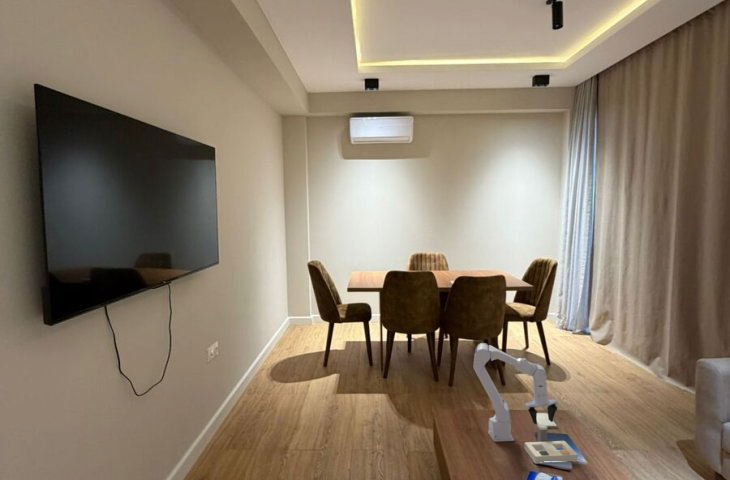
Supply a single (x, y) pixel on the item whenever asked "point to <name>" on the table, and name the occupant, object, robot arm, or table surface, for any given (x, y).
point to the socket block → (550, 451)
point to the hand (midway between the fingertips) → (542, 422)
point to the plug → (541, 433)
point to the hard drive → (545, 420)
